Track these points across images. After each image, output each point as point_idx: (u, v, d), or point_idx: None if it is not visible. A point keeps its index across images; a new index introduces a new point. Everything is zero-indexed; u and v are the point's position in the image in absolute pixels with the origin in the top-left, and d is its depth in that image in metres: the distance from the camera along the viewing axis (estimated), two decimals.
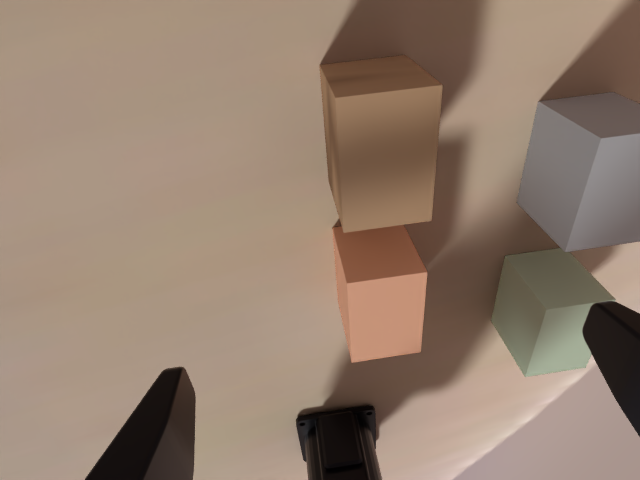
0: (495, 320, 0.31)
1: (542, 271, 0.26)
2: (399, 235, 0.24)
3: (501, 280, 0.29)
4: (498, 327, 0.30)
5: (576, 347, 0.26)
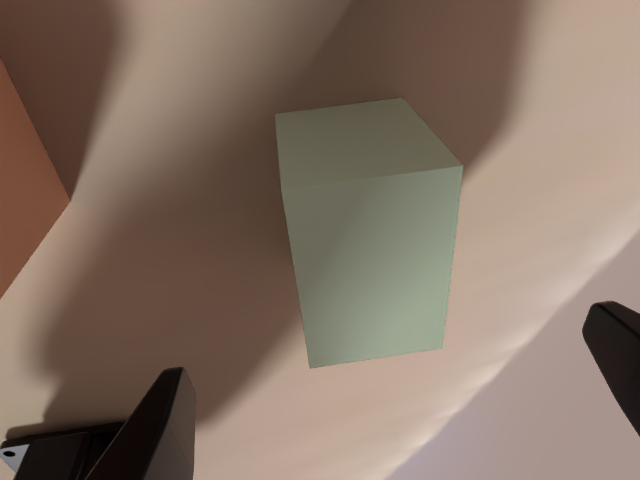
0: None
1: (330, 130, 0.12)
2: None
3: None
4: None
5: (404, 300, 0.12)
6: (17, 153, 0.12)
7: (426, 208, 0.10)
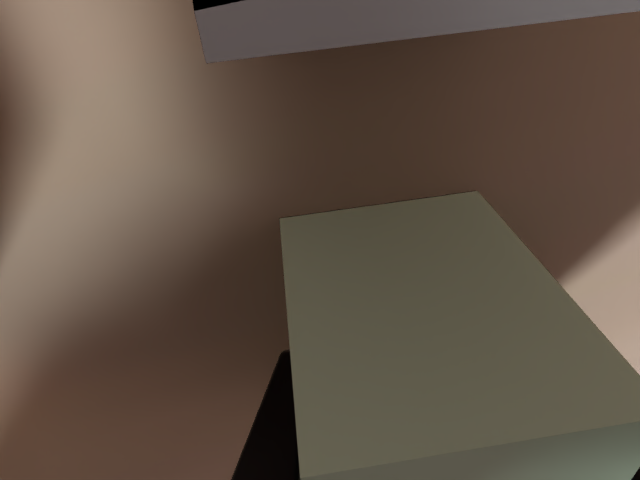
0: None
1: (377, 269, 0.07)
2: None
3: None
4: None
5: None
6: None
7: (580, 472, 0.05)
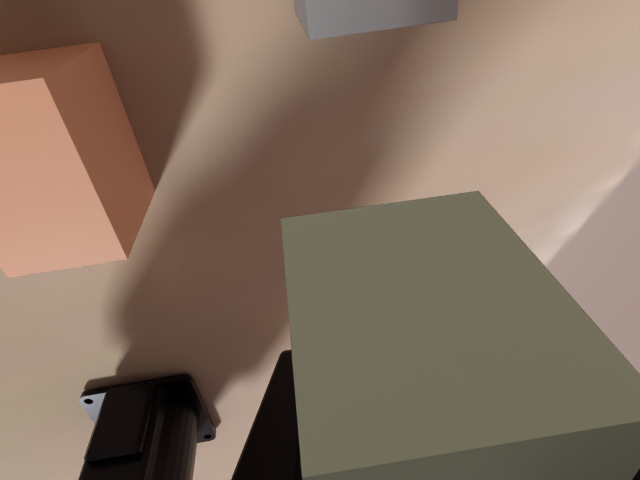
0: None
1: (378, 269, 0.07)
2: (68, 53, 0.14)
3: None
4: None
5: None
6: (128, 154, 0.16)
7: (582, 471, 0.05)
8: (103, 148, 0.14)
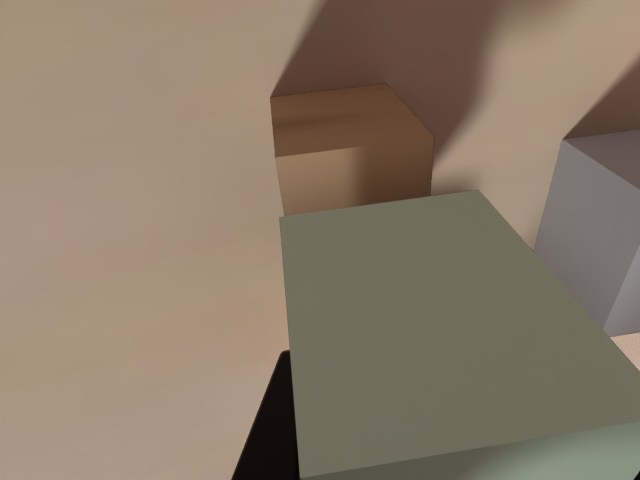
0: None
1: (377, 268, 0.07)
2: None
3: None
4: None
5: None
6: None
7: (582, 472, 0.05)
8: None
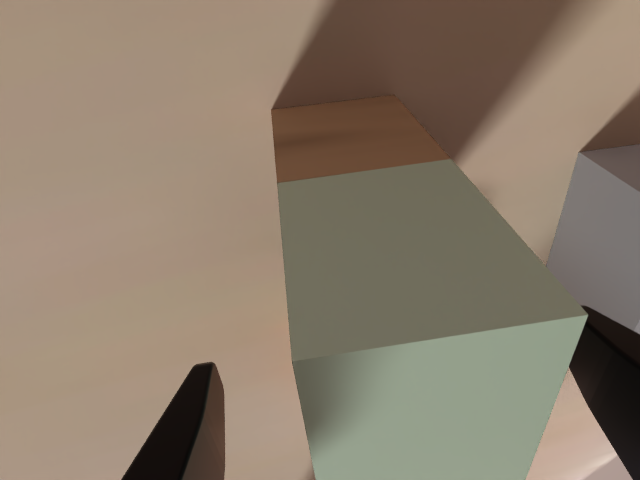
0: None
1: (359, 220, 0.08)
2: None
3: None
4: None
5: (468, 470, 0.08)
6: None
7: (519, 368, 0.06)
8: None
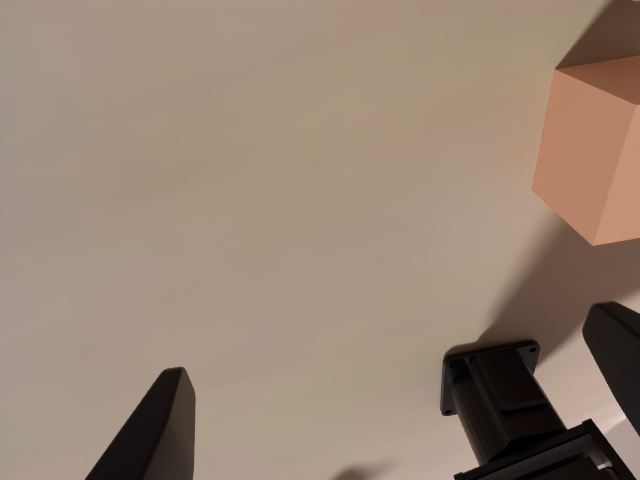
0: None
1: None
2: None
3: None
4: None
5: None
6: None
7: None
8: None
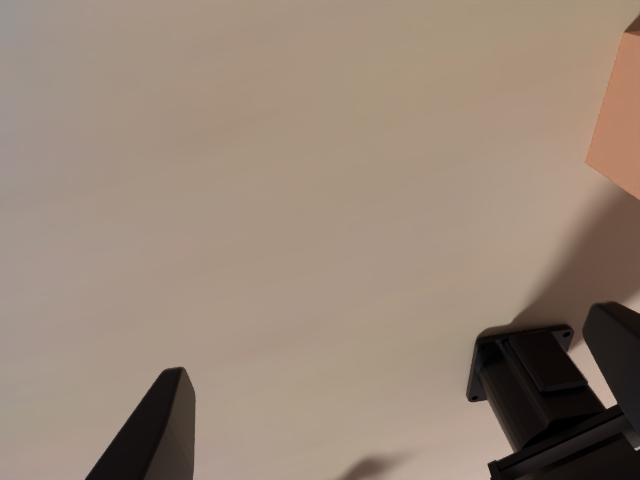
0: None
1: None
2: None
3: None
4: None
5: None
6: None
7: None
8: None
